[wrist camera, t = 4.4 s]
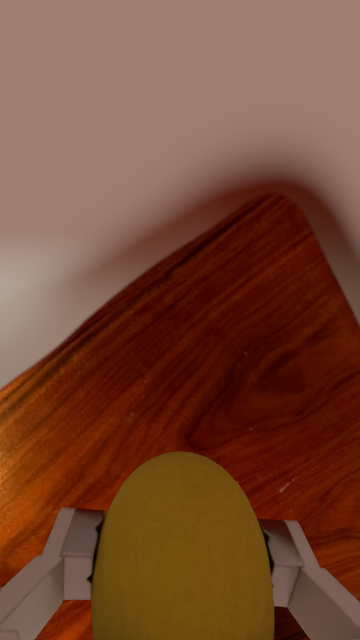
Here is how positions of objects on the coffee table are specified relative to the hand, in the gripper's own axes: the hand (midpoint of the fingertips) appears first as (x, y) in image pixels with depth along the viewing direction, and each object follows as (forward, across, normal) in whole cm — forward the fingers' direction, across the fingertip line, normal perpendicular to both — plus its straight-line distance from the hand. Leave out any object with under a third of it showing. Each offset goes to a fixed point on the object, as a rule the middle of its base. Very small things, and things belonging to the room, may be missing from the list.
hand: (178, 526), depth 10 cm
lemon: (+3, 0, 0) cm, 3 cm away
